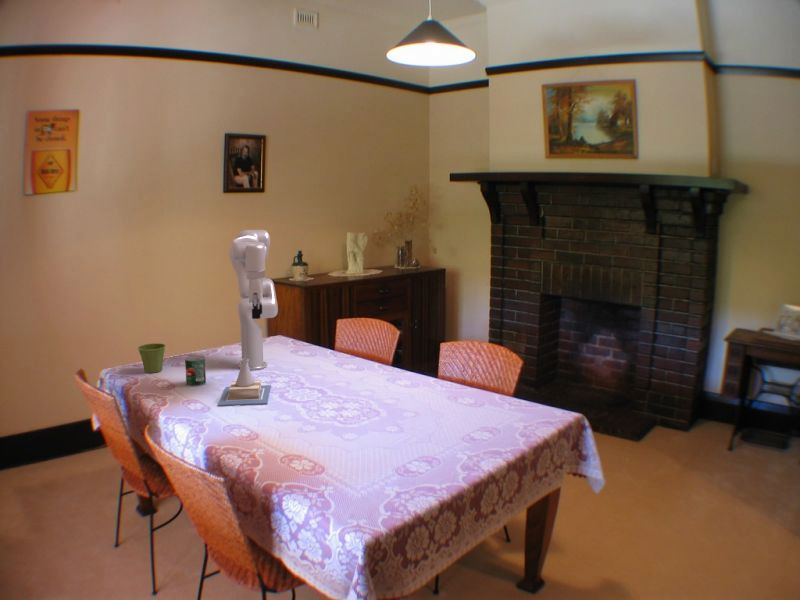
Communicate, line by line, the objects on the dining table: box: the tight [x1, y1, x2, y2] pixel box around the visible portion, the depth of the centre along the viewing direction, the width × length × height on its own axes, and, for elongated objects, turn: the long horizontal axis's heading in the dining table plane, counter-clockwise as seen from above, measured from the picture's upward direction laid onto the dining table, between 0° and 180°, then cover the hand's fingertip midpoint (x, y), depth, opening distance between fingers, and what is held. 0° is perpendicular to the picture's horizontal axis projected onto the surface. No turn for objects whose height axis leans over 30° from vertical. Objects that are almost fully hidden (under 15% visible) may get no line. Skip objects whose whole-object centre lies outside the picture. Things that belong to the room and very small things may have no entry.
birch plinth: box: [229, 379, 262, 400], centre depth 252 cm, size 11×11×4 cm
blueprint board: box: [217, 384, 272, 407], centre depth 253 cm, size 22×18×1 cm
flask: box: [235, 358, 255, 387], centre depth 251 cm, size 7×7×10 cm
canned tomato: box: [184, 355, 207, 387], centre depth 267 cm, size 8×8×11 cm
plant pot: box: [136, 342, 167, 374], centre depth 285 cm, size 12×12×11 cm
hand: (257, 316), depth 265 cm, fingers open, 9 cm apart
